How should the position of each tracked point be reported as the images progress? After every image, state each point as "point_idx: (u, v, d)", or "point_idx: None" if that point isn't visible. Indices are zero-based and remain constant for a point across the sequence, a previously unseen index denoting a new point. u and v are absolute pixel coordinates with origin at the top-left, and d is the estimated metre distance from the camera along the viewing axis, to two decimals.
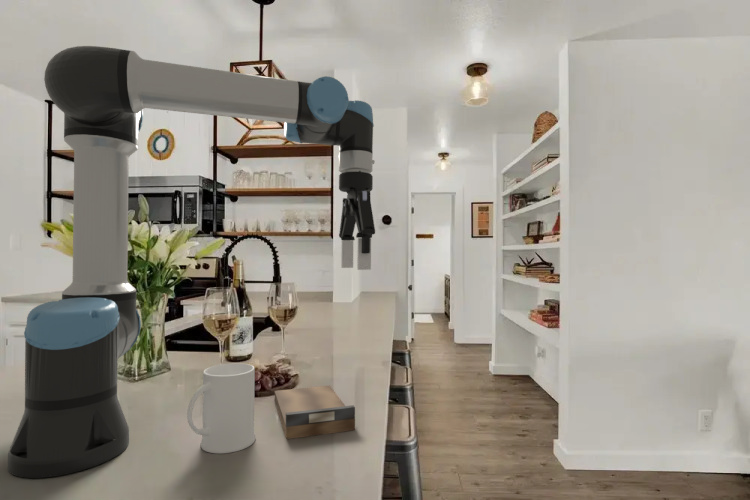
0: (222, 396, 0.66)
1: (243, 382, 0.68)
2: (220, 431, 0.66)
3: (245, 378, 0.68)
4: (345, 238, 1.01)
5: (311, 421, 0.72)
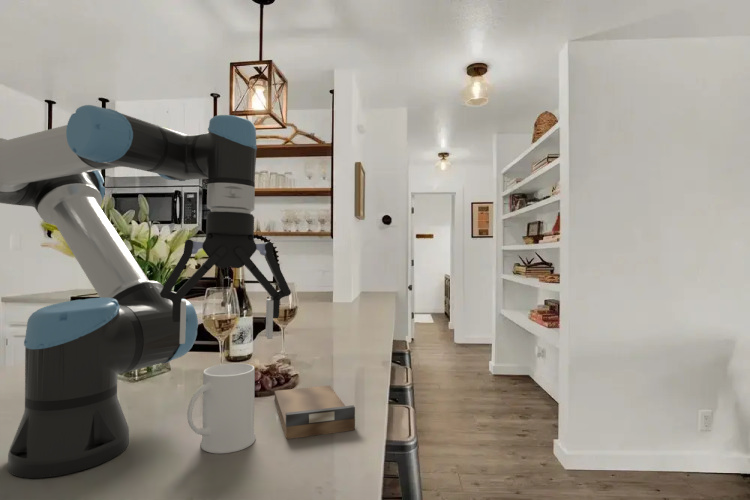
0: (222, 396, 0.66)
1: (243, 382, 0.68)
2: (220, 431, 0.66)
3: (245, 378, 0.68)
4: (271, 296, 0.74)
5: (311, 421, 0.72)
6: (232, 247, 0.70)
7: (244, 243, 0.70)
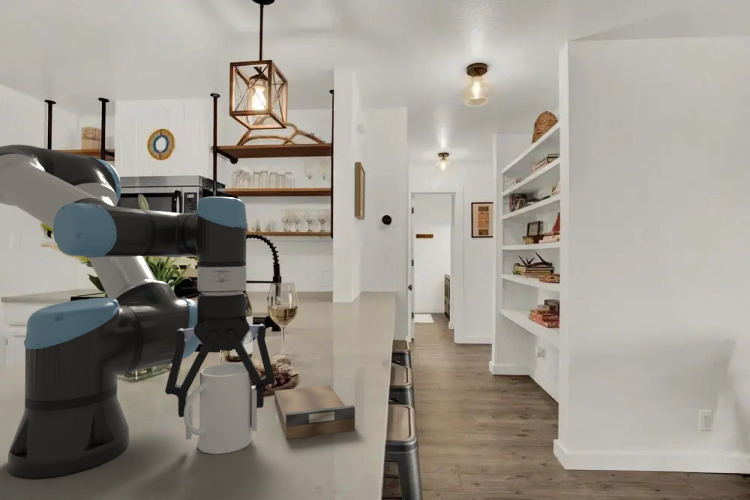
0: (218, 396, 0.66)
1: (240, 382, 0.67)
2: (217, 431, 0.66)
3: (242, 378, 0.68)
4: None
5: (311, 421, 0.72)
6: (224, 326, 0.68)
7: (237, 323, 0.69)
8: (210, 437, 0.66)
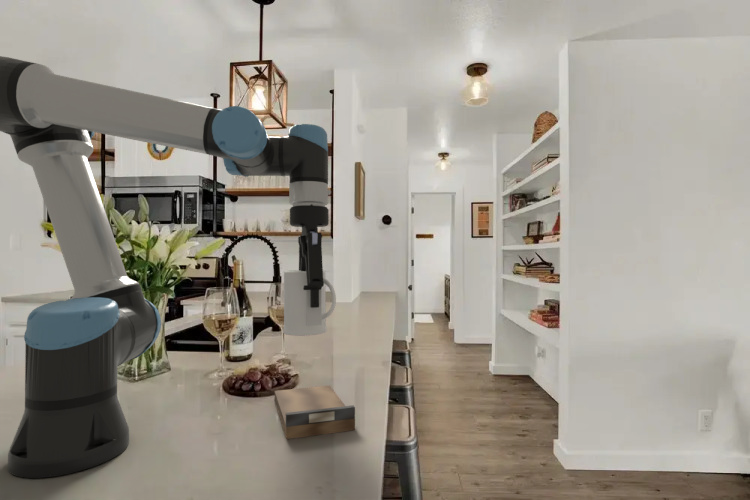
0: None
1: None
2: None
3: None
4: None
5: (311, 421, 0.72)
6: None
7: None
8: (323, 320, 0.82)
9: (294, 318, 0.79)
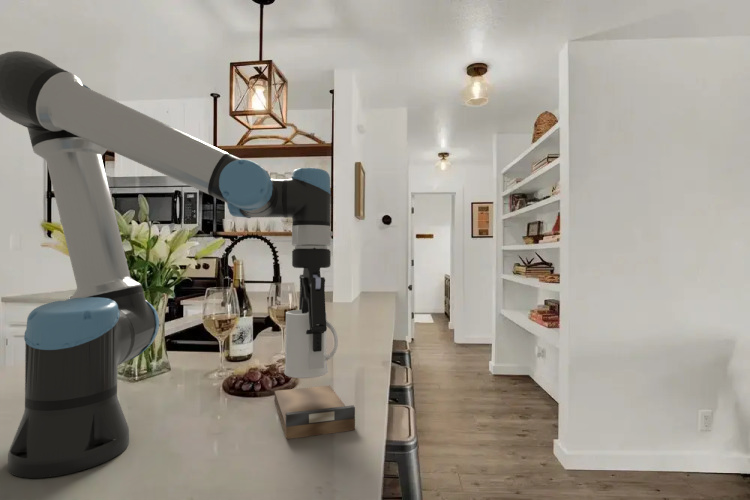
0: None
1: None
2: (326, 355, 0.84)
3: None
4: None
5: (311, 421, 0.72)
6: None
7: None
8: (325, 361, 0.83)
9: (296, 360, 0.80)
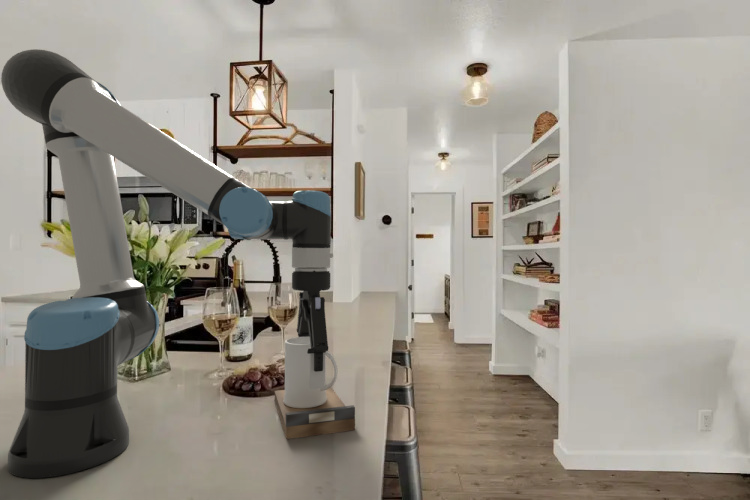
0: None
1: None
2: (325, 383, 0.84)
3: None
4: (302, 335, 0.90)
5: (311, 421, 0.72)
6: None
7: None
8: (324, 390, 0.83)
9: (296, 390, 0.80)
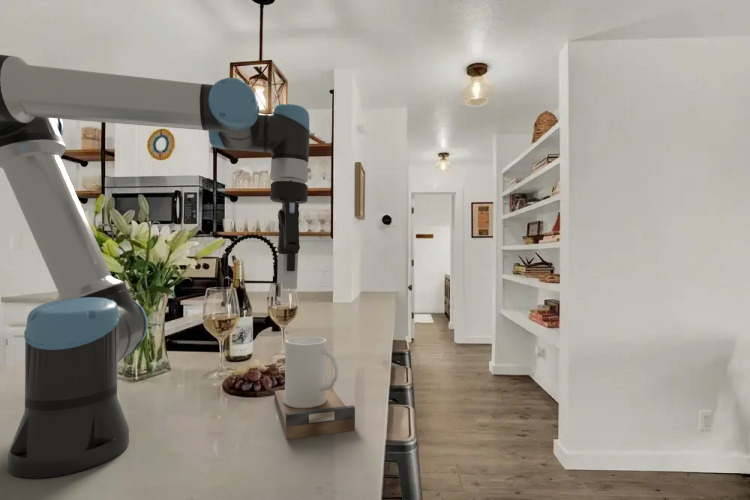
0: None
1: None
2: None
3: None
4: None
5: (311, 421, 0.72)
6: None
7: None
8: None
9: (296, 390, 0.80)
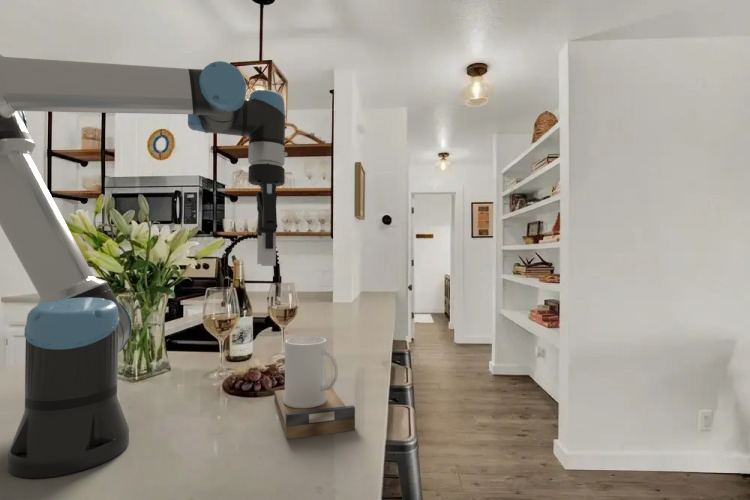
0: None
1: None
2: None
3: None
4: (261, 233, 0.97)
5: (311, 421, 0.72)
6: None
7: None
8: (324, 390, 0.83)
9: (296, 391, 0.80)
